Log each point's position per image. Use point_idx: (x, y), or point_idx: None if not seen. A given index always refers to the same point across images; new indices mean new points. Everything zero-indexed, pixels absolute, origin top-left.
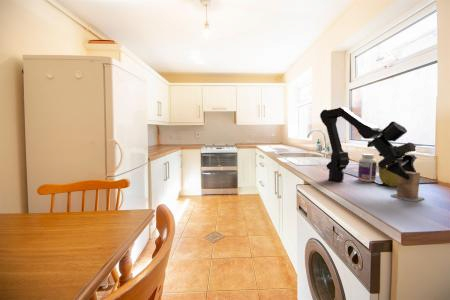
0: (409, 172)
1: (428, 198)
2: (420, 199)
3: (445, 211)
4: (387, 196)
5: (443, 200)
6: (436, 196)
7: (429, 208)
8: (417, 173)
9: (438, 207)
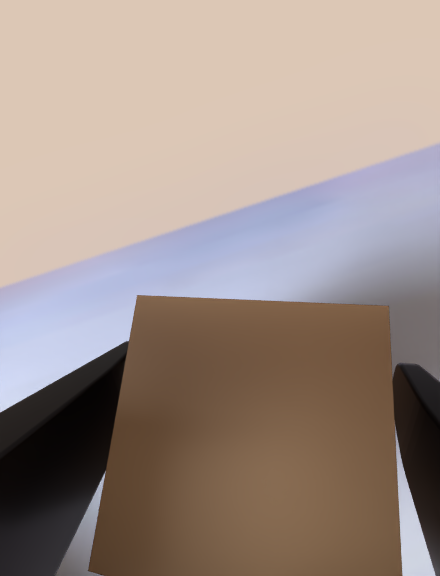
0: (291, 418)
1: None
2: None
3: (390, 159)
4: (403, 531)
5: (129, 253)
6: (57, 307)
7: (422, 217)
8: (230, 300)
9: (335, 205)
